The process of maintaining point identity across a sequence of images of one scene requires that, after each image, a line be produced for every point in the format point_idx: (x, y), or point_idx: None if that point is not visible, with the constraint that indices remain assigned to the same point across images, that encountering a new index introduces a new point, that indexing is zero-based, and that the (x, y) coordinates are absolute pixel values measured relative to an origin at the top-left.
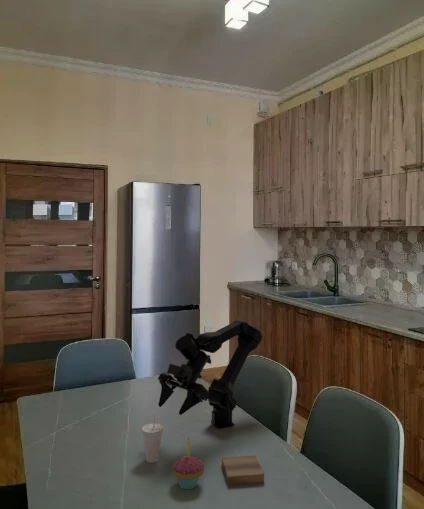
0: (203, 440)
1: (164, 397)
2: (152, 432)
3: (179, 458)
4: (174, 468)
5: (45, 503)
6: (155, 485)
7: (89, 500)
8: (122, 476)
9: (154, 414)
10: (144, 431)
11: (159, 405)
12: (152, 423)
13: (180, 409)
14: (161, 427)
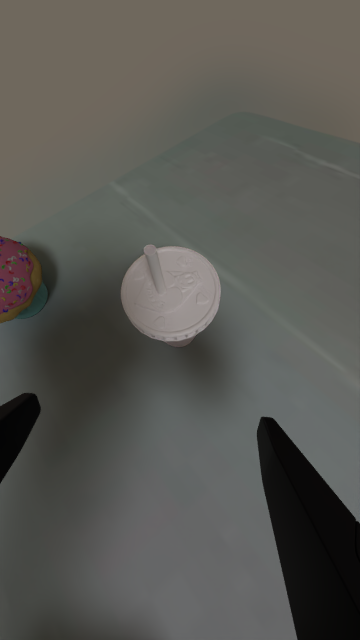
0: (113, 561)
1: (294, 530)
2: (138, 259)
3: (8, 266)
4: (15, 242)
5: (225, 119)
6: (92, 254)
7: (170, 158)
8: (181, 235)
9: (144, 250)
10: (173, 246)
11: (261, 420)
12: (204, 321)
13: (5, 411)
14: (137, 318)
